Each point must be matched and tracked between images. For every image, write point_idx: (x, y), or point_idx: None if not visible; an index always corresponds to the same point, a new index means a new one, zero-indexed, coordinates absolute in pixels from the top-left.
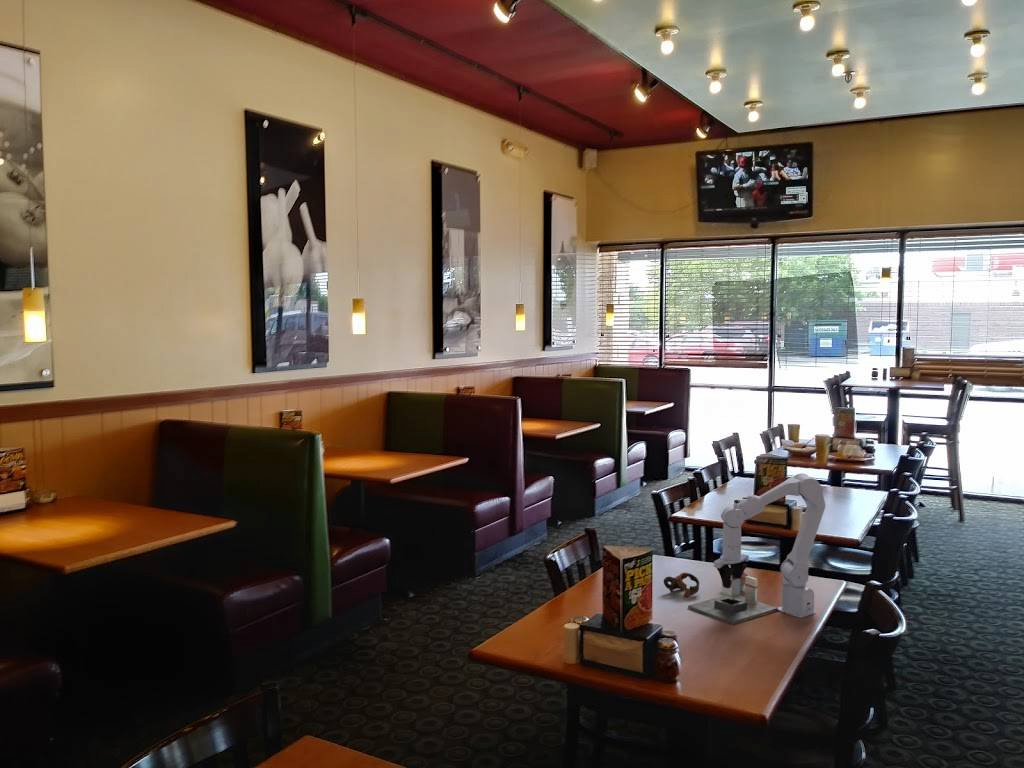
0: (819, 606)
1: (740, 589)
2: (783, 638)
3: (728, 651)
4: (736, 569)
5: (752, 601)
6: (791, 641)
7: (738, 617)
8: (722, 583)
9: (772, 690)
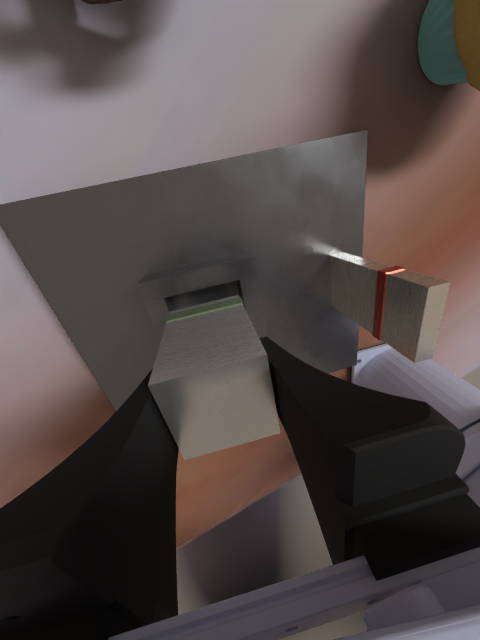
0: (474, 360)
1: (454, 83)
2: (209, 497)
3: None
4: (308, 463)
5: (333, 296)
6: (214, 509)
7: None
8: (158, 356)
9: None
